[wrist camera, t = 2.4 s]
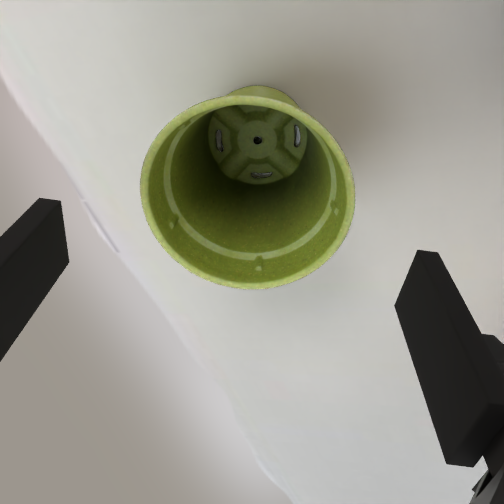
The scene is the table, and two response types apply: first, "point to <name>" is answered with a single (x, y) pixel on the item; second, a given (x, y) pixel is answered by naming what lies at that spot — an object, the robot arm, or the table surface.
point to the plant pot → (247, 190)
